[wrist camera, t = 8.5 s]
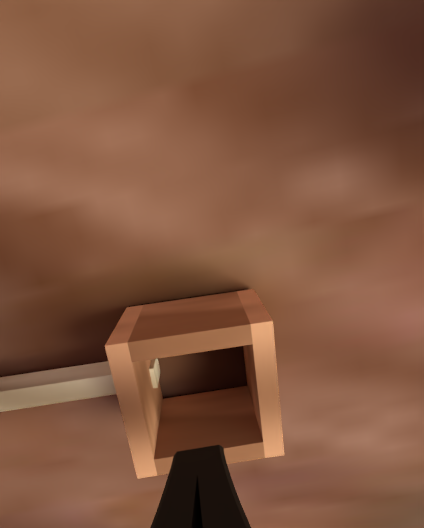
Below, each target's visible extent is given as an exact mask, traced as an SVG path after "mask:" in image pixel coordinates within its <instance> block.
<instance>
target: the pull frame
mask: <svg viewBox="0 0 424 528" xmlns="http://www.w3.org/2000/svg"><path fill="white" fill-rule="evenodd" d="M238 346H243V350H244V359H245V368H246V376H247V385H248V386H243V387H236V388H230V389H223V390H217V391H210V392H204V393H198V394H191V395H185V396H178V397H172V398H165V399H163V398H162V393H161V388H160V383H159V377H160V367H159V362H158V358H165V357H171V356H178V355H185V354H191V353H198V352H205V351H211V350H218V349H224V348H231V347H238ZM105 350H106V354H107V358H108V361H106V362H99V363H92V364H86V365H79V366H73V367H66V368H59V369H53V370H46V371H39V372H33V373H26V374H19V375H13V376H6V377H0V412H3V411H10V410H16V409H23V408H29V407H36V406H42V405H49V404H55V403H62V402H68V401H75V400H81V399H88V398H94V397H101V396H107V395H114V394H117V398H118V402H119V406H120V410H121V414H122V418H123V422H124V426H125V430H126V434H127V438H128V442H129V446H130V450H131V454H132V458H133V462H134V466H135V470H136V474H137V478H138V479H139V478H145V477H151V476H157V475H163V474H169V472H170V468H171V465H172V461H173V457H174V455H175V453H176V452H177V451H183V450H189V449H195V448H202V447H208V446H214V445H221V446H222V447H224V454H225V458H226V463H227V464H231V463H237V462H243V461H250V460H256V459H262V458H268V457H274V456H281V455H284V446H283V434H282V423H281V411H280V400H279V388H278V376H277V365H276V353H275V342H274V330H273V321H272V319H271V317H270V316H269V314H268V312H267V311H266V309H265V307H264V306H263V304H262V302H261V301H260V299H259V297H258V296H257V294H256V292H255V291H254V289H249V290H242V291H235V292H229V293H222V294H215V295H208V296H201V297H194V298H187V299H181V300H174V301H167V302H160V303H153V304H146V305H139V306H133V307H126V309H125V311H124V313H123V314H122V316H121V318H120V320H119V322H118V323H117V325H116V327H115V329H114V330H113V332H112V334H111V336H110V337H109V339H108V341H107V343H106V344H105Z"/></svg>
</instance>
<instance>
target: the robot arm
mask: <svg viewBox="0 0 424 528" xmlns="http://www.w3.org/2000/svg"><path fill="white" fill-rule="evenodd" d="M151 528H251V527H250V524H249V522H248V520H247V517H246V515H245V513H244V510H243V508H242V506H241V503H240V501H239V498H238V496H237V493H236V490H235V487H234V485H233V482H232V479H231V476H230V473H229V470H228V466H227V463H226V458H225V454H224V447H222V446H221V445H214V446H208V447H202V448H195V449H189V450H183V451H177V452H176V453H175V455H174V457H173V461H172V465H171V468H170V472H169V475H168V479H167V482H166V485H165V488H164V491H163V494H162V497H161V500H160V503H159V506H158V509H157V512H156V515H155V517H154V520H153V523H152V525H151Z"/></svg>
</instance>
